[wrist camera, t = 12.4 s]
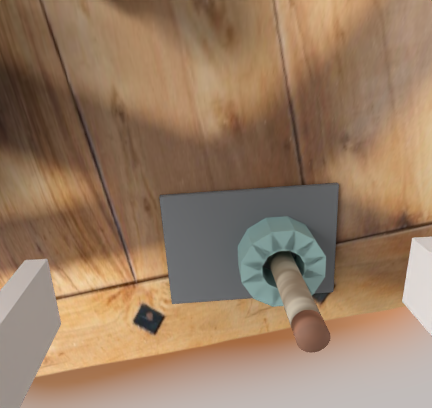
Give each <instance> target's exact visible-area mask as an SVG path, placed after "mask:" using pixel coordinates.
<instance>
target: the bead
mask: <svg viewBox="0 0 432 408" xmlns="http://www.w3.org/2000/svg"><path fill="white" fill-rule="evenodd" d="M278 251H291V252H294V253H296V257H295V259H294V261H295V263H296V265H297V267H298V269H299V271H300V273H301V275H302V277H303V279H304V281H305V283H306V285H307V287H308V289H309V291H310V293H311V295H313V294H314V293H315V291H316V290H317V288H318V287H319V285H320V284H321V282H322V281H323V279H324V278H325V269H326V256H325V254H324V253H323V251H322V250H321V248H320V247H319V245H318V243H317V242H316V240H315V239H314V237H313V235H312V234H311V232H310V231H309V229H308V228H307V226H306V225H305V224H303V223H301V222H299V221H296V220H294V219H292V218H290V217H288V216H283V217H269V218H265V219H263V220H261V221H260V222H258V223H256V224H255V225H253V226H251V227H250V228H248V229H247V231H246V232H245V234H244V236H243V238H242V239H241V241H240V243H239V245H238V266H239V271H240V276H241V282H242V284H243V285H244V287H245V288H246V289H247V291H248V292H249V293H250V295H251V296H252V297H253V299H256V300H258V301H260V302H263V303H265V304H268V305H270V306H284V305H283V302H282V299H281V297H280V294H279V291H278V288H277V285H276V282H275V280H274V277H273V274H272V271H271V270H270V269H267V268H265V267H263V265H264V263H265V261H266V260H267V258H268V257H269V256H271V255H273V254H274V253H276V252H278Z"/></svg>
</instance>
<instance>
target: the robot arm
mask: <svg viewBox="0 0 432 408" xmlns="http://www.w3.org/2000/svg"><path fill="white" fill-rule="evenodd" d="M402 302H403V303H404V304H405V306H406V307H407V308H408V309H409V310H410V311H411V313H412V314H413V315H414V316H415V317H416V318H417V320H418V321H419V322H420V323H421V324H422V325H423V327H424V328H425V329H426V330H427V331H428V332H429V334H430V335H431V336H432V237H418V238H412V243H411V249H410V256H409V262H408V268H407V274H406V281H405V287H404V293H403V300H402ZM60 325H61V321H60V316H59V311H58V307H57V302H56V297H55V293H54V288H53V283H52V279H51V274H50V269H49V264H48V260H47V259H37V260H25V261H24V262H23V263H22V265H21V266H20V267H19V268H18V269H17V271H16V272H15V273H14V274H13V276H12V277H11V278H10V279H9V280H8V282H7V283H6V284H5V285H4V286H3V288H2V289H1V290H0V408H20V406H21V404H22V402H23V400H24V398H25V396H26V394H27V392H28V390H29V388H30V386H31V384H32V382H33V380H34V378H35V376H36V374H37V372H38V370H39V368H40V366H41V364H42V362H43V360H44V357H45V355H46V353H47V351H48V349H49V347H50V345H51V343H52V341H53V339H54V337H55V335H56V333H57V331H58V329H59V327H60Z"/></svg>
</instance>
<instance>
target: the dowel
mask: <svg viewBox="0 0 432 408" xmlns="http://www.w3.org/2000/svg"><path fill="white" fill-rule="evenodd" d="M267 260H268V263H269V265H270V268H271V271H272V274H273V277H274V280H275V282H276V285H277V288H278V291H279V294H280V297H281V299H282V302H283V305H284V308H285V311H286V313H287V316H288V319H289V322H290V325H291V328H292V330H293V333H294V336H295V339H296V342H297V345H298V346H299V348H301V349H302V350H303V351H306V352H317V351H320V350H322V349H323V348H325V347H326V346H327V345H328V343H329V341H330V333H329V331H328V329H327V326H326V325H325V322H324V320H323V318H322V316H321V314H320V312H319V310H318V308H317V306H316V304H315V302H314V300H313V298H312V295H311V293H310V291H309V289H308V287H307V285H306V283H305V281H304V279H303V277H302V275H301V273H300V271H299V269H298V267H297V265H296V263H295V261H294V258H293V256H292V254H291V252H290V251H278V252H276V253H274V254H273V255H271V256H269V257H268V258H267Z"/></svg>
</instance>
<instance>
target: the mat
mask: <svg viewBox="0 0 432 408" xmlns="http://www.w3.org/2000/svg"><path fill="white" fill-rule="evenodd" d="M338 190H339V184H338V183H327V184H312V185H298V186H284V187H269V188H255V189H240V190H226V191H212V192H197V193H183V194H169V195H160V206H161V214H162V223H163V231H164V240H165V248H166V257H167V265H168V274H169V282H170V291H171V299H172V304H179V303H192V302H206V301H220V300H233V299H247V298H253V297H252V296H251V295H250V293H249V292H248V291H247V289H246V288H245V287H244V285H243V284H242V282H241V276H240V271H239V266H238V245H239V243H240V241H241V239H242V238H243V236H244V234H245V232H246V231H247V229H248V228H250V227H251V226H253V225H255V224H256V223H258V222H260V221H261V220H263V219H265V218H269V217H283V216H288V217H290V218H292V219H294V220H296V221H299V222H301V223H303V224H305V225H306V226H307V228H308V229H309V231H310V232H311V234H312V235H313V237H314V239H315V240H316V242H317V243H318V245H319V247H320V248H321V250H322V251H323V253H324V254H325V256H326V269H325V278H324V279H323V281H322V282H321V284H320V285H319V287H318V288H317V290H316V291H315V293H328V292H333V289H334V269H335V249H336V229H337V210H338ZM290 252H291V251H290ZM291 254H292V256H293V258H294V259H295V257H296V253H294V252H291ZM263 267H265V268H267V269H270V270H271V268H270V265H269V263H268V260H266V261H265V263H264V265H263ZM315 293H314V294H315Z"/></svg>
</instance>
